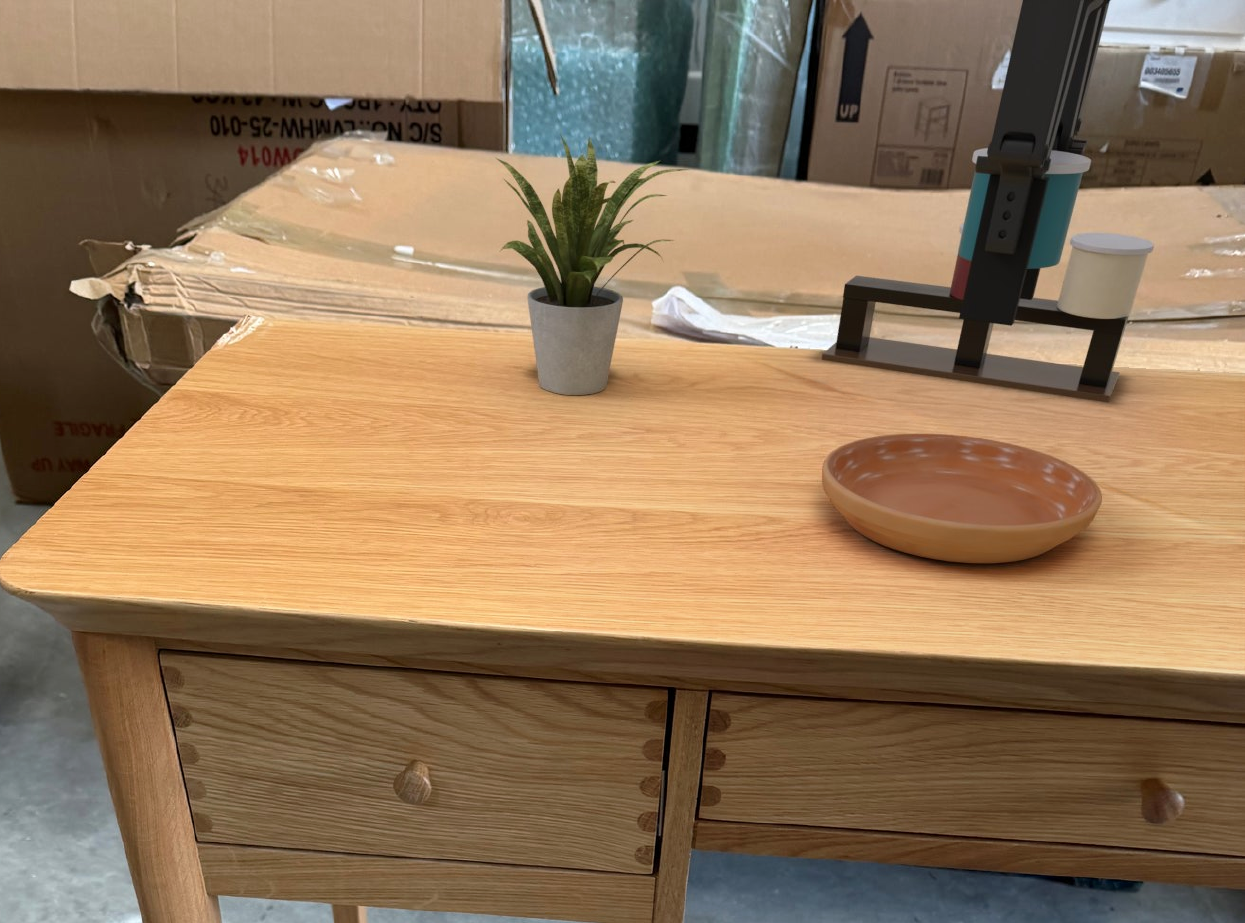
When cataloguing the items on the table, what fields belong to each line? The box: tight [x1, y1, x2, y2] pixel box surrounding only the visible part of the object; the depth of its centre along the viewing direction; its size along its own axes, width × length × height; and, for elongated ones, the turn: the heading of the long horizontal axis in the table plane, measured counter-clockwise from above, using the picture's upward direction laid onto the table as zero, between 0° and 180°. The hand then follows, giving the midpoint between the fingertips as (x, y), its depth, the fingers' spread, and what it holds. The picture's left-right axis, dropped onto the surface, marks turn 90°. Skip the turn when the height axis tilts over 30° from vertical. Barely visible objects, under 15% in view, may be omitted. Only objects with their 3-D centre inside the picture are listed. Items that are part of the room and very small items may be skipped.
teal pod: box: [957, 147, 1092, 269], centre depth 62 cm, size 6×6×5 cm
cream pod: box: [1057, 232, 1155, 319], centre depth 88 cm, size 6×6×5 cm
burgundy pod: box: [950, 223, 971, 300], centre depth 91 cm, size 6×6×5 cm
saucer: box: [821, 432, 1103, 564], centre depth 72 cm, size 16×16×3 cm
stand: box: [821, 275, 1130, 403], centre depth 94 cm, size 7×22×6 cm, turn 64°
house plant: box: [495, 134, 690, 396], centre depth 86 cm, size 14×14×16 cm
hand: (997, 306), depth 65 cm, fingers closed on teal pod, 6 cm apart
